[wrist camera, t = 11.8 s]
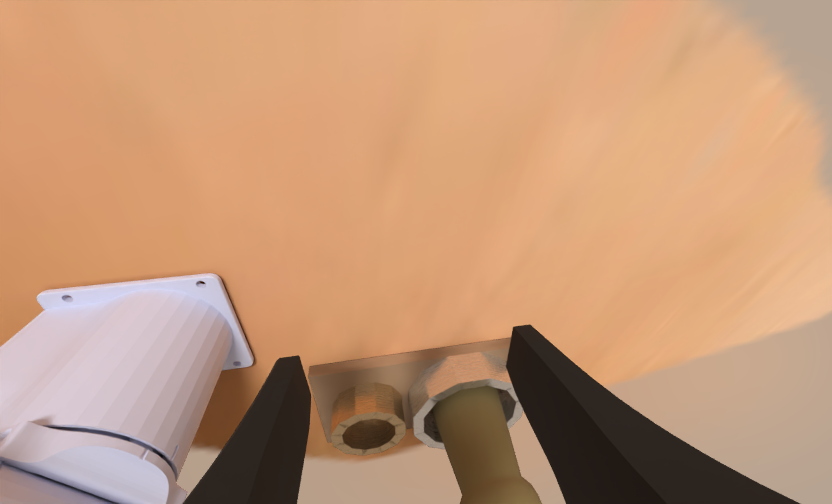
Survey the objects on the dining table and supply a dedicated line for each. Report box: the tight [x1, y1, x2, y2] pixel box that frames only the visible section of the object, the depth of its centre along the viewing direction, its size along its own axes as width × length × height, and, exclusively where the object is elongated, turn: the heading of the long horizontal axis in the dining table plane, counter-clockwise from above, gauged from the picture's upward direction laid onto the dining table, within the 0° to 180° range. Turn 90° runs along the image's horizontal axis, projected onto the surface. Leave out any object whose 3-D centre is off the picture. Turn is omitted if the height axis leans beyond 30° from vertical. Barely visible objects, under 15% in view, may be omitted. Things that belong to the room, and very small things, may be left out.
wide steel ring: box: [409, 352, 523, 449], centre depth 27 cm, size 9×9×2 cm
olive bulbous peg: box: [431, 386, 542, 504], centre depth 23 cm, size 6×6×11 cm
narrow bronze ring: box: [331, 382, 406, 455], centre depth 26 cm, size 6×6×2 cm
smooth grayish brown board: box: [308, 338, 511, 443], centre depth 28 cm, size 17×9×1 cm, turn 92°
